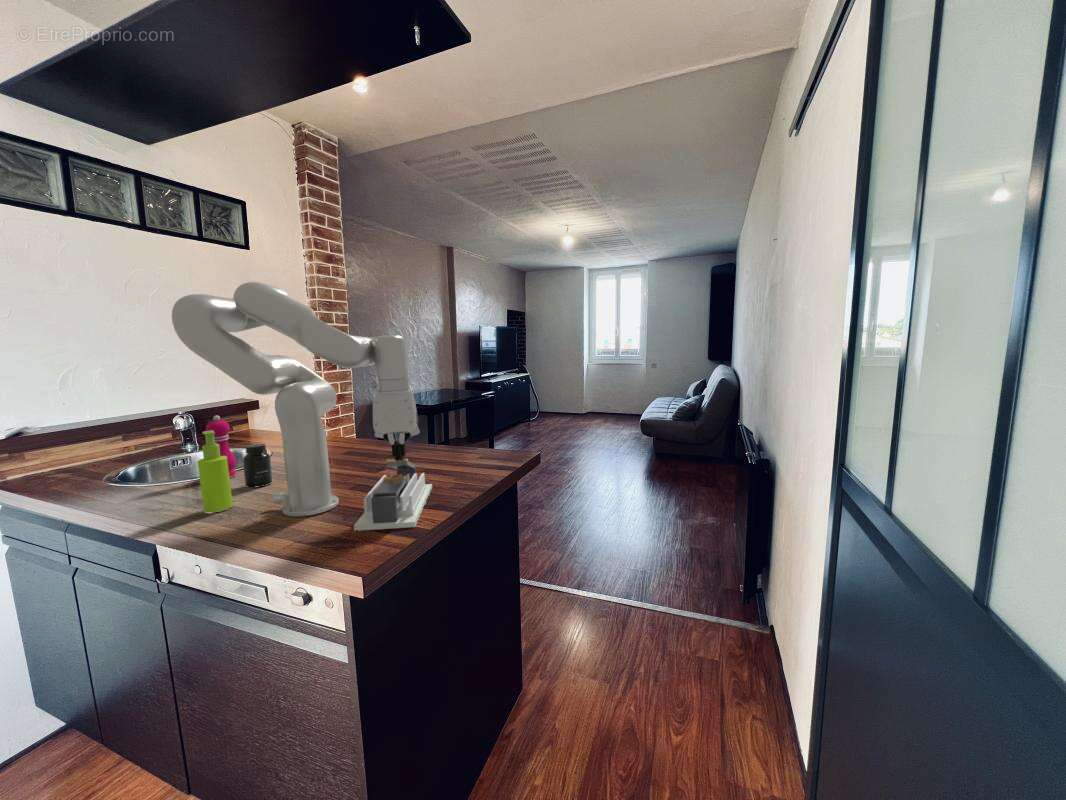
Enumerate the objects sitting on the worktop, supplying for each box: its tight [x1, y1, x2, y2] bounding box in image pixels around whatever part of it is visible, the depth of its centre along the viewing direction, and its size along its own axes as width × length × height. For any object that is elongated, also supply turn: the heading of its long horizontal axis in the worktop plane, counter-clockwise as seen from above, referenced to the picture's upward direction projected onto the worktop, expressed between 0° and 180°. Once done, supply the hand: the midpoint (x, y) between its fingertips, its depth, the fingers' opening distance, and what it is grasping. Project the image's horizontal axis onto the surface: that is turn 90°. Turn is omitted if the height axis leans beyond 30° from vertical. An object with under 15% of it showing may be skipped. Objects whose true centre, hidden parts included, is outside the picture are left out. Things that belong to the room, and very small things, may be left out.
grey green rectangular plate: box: [386, 457, 416, 470], centre depth 111 cm, size 5×10×2 cm, turn 5°
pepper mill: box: [205, 415, 237, 477], centre depth 134 cm, size 7×7×20 cm
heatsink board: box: [353, 465, 433, 532], centre depth 105 cm, size 13×26×7 cm, turn 5°
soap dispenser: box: [197, 430, 234, 512], centre depth 106 cm, size 6×7×20 cm
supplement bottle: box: [242, 443, 273, 488], centre depth 126 cm, size 7×7×12 cm
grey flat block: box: [373, 475, 406, 497], centre depth 99 cm, size 5×10×2 cm, turn 5°
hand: (399, 458), depth 106 cm, fingers closed
